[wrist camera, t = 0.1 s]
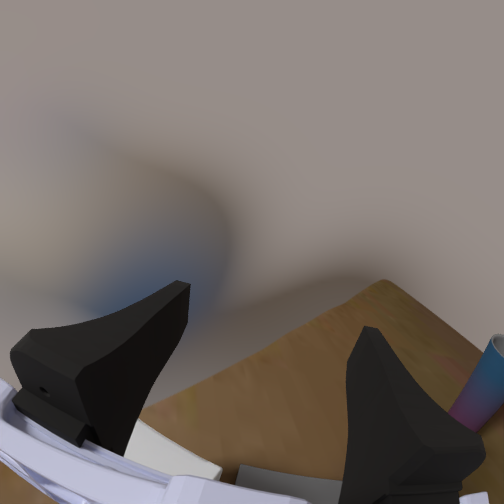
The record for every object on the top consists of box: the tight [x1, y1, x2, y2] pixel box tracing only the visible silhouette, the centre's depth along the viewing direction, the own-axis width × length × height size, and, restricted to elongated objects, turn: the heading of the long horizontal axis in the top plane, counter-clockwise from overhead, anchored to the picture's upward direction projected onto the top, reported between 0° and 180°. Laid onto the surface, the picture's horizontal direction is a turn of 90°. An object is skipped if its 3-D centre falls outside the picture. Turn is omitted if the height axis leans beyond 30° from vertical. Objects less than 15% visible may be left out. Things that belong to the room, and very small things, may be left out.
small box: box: [124, 419, 223, 481], centre depth 17 cm, size 8×6×10 cm
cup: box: [448, 334, 504, 433], centre depth 28 cm, size 7×7×15 cm
